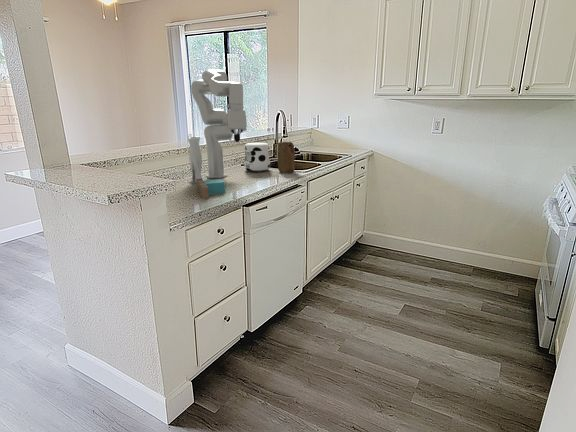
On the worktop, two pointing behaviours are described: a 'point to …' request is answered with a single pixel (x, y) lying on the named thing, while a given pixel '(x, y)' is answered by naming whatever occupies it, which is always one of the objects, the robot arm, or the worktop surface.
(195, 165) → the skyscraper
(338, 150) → the worktop surface
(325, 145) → the worktop surface
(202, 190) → the walnut board
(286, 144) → the block
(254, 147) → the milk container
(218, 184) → the teal block
